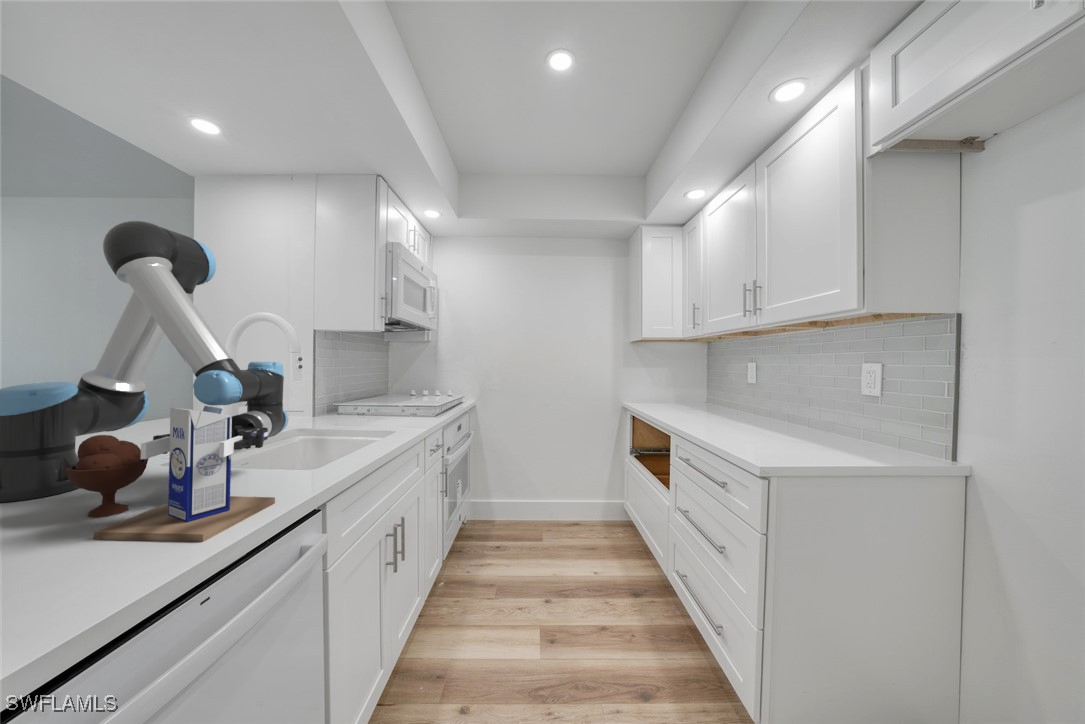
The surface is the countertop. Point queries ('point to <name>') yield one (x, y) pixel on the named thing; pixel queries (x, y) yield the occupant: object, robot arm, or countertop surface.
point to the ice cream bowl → (106, 470)
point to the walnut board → (182, 523)
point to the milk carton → (198, 463)
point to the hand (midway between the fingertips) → (183, 450)
